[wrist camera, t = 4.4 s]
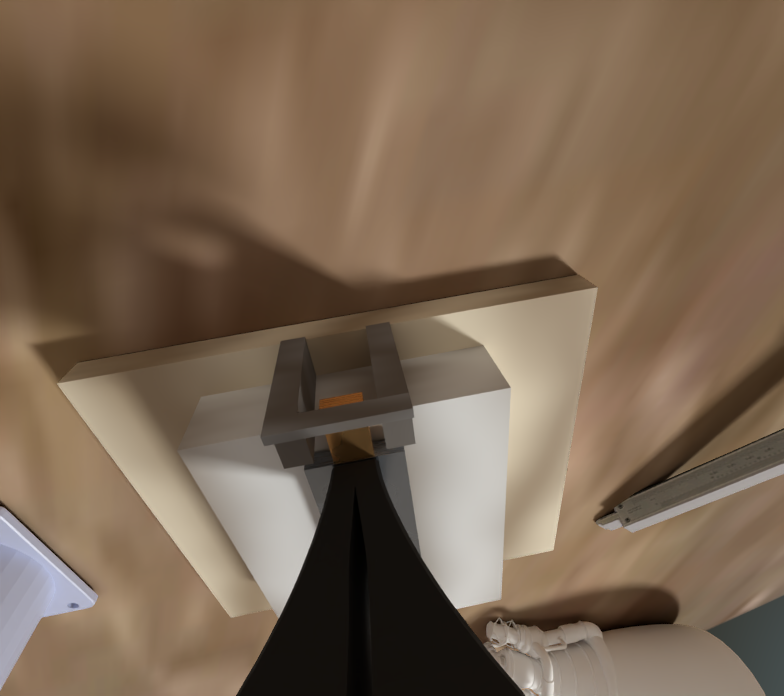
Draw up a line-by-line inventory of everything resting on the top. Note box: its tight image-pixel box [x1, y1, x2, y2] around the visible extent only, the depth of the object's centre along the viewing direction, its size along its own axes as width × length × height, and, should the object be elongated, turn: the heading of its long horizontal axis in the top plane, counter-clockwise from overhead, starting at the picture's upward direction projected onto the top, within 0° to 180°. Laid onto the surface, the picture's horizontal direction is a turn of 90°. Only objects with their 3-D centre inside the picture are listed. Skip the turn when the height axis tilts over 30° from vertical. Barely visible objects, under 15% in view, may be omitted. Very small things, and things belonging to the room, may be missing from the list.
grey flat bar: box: [304, 392, 421, 556], centre depth 14 cm, size 3×13×1 cm, turn 7°
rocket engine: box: [484, 618, 766, 696], centre depth 28 cm, size 12×12×18 cm
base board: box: [57, 275, 598, 618], centre depth 16 cm, size 18×16×6 cm
